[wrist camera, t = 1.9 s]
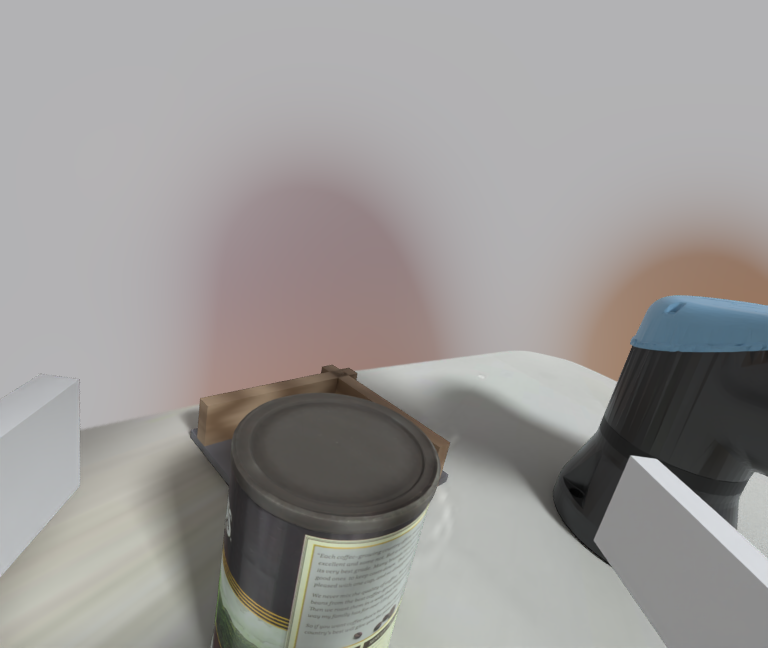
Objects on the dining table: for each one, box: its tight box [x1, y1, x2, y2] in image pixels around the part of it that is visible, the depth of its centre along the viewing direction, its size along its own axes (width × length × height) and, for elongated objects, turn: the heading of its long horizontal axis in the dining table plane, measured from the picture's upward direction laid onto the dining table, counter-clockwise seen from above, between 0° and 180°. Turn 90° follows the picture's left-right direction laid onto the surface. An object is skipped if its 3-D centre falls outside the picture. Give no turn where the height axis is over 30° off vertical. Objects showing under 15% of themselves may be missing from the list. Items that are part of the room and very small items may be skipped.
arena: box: [191, 365, 450, 486], centre depth 42 cm, size 18×18×5 cm
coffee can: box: [211, 393, 441, 648], centre depth 24 cm, size 10×10×14 cm
